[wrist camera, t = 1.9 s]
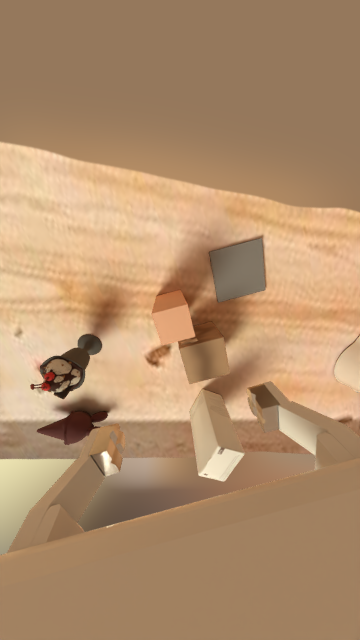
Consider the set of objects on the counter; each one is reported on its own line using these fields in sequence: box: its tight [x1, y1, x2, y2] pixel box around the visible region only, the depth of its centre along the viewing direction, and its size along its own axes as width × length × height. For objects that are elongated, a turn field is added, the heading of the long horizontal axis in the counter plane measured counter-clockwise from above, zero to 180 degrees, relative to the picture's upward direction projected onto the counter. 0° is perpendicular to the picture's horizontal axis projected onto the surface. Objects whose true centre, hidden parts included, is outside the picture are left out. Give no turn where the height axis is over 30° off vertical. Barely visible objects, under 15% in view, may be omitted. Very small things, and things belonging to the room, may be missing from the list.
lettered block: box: [178, 321, 230, 384], centre depth 34 cm, size 8×8×8 cm
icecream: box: [37, 411, 108, 445], centre depth 39 cm, size 7×7×15 cm
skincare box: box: [189, 389, 245, 481], centre depth 37 cm, size 8×6×15 cm
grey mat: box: [209, 238, 265, 302], centre depth 33 cm, size 10×10×1 cm
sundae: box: [30, 335, 102, 399], centre depth 29 cm, size 7×7×15 cm
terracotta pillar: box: [152, 290, 195, 345], centre depth 29 cm, size 5×5×12 cm
